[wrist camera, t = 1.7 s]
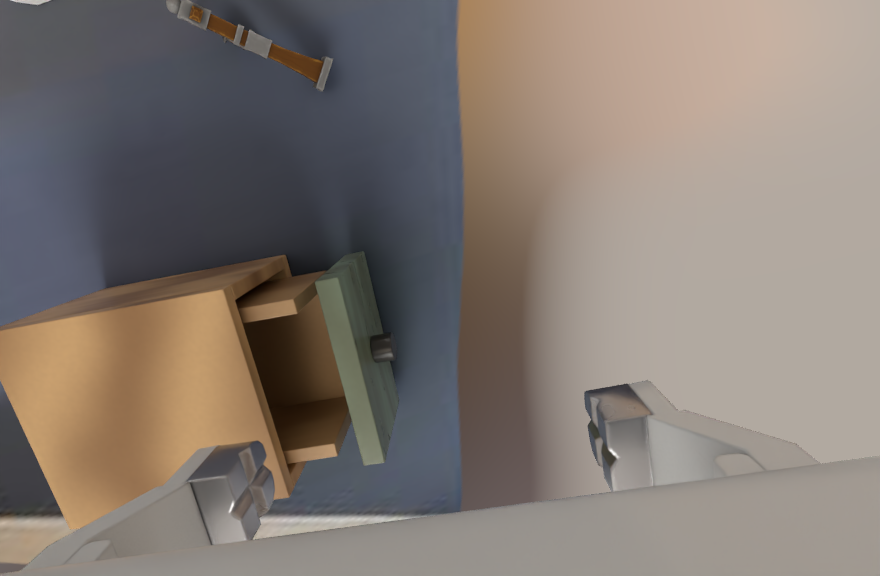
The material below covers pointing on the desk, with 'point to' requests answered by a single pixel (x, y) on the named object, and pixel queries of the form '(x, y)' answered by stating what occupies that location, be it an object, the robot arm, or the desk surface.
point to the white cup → (31, 1)
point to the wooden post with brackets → (252, 41)
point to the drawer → (323, 360)
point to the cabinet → (140, 385)
